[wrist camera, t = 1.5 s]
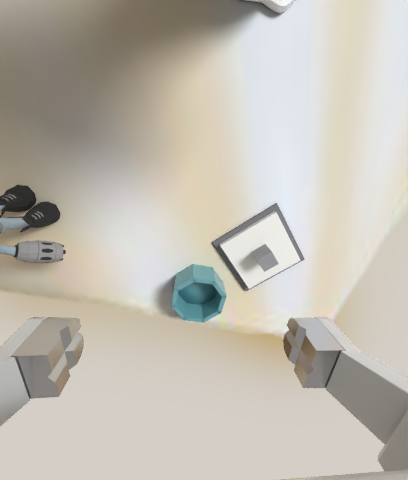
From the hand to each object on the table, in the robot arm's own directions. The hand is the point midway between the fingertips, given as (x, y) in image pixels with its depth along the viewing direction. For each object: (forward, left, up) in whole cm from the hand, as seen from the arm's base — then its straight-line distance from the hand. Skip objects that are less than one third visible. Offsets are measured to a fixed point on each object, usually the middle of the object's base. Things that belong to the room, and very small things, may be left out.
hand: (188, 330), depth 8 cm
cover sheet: (-6, +17, -30) cm, 35 cm away
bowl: (+9, +17, -31) cm, 36 cm away
